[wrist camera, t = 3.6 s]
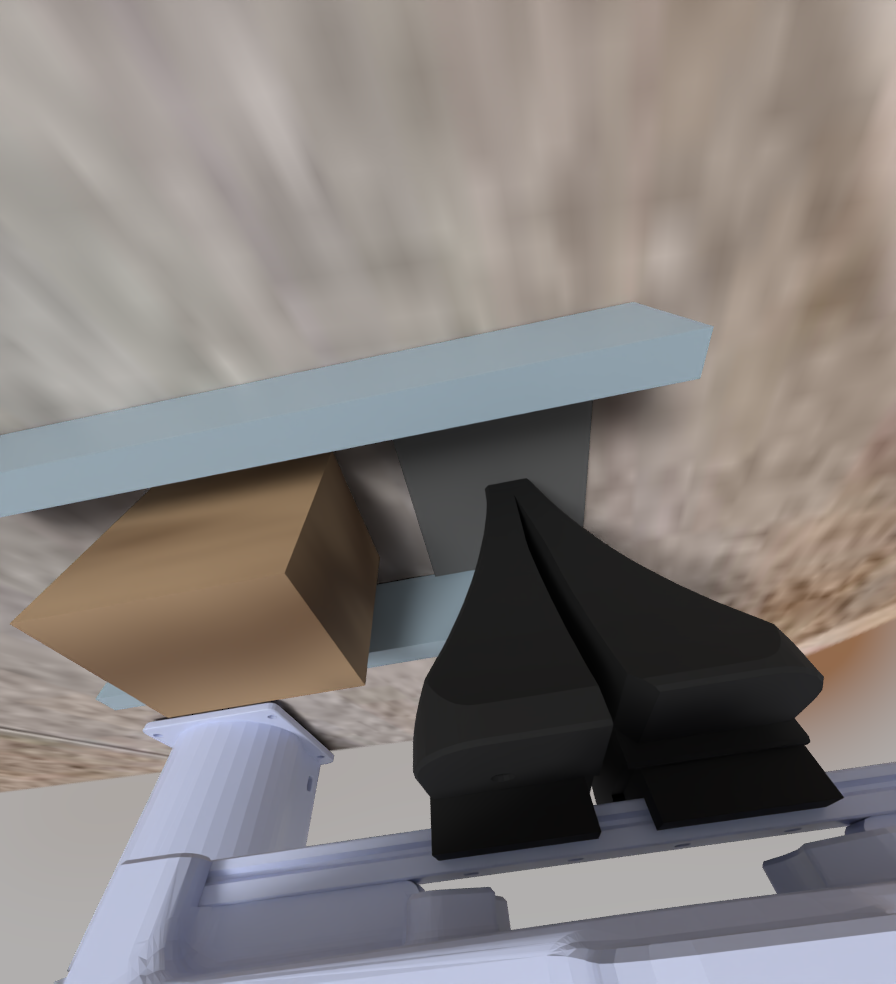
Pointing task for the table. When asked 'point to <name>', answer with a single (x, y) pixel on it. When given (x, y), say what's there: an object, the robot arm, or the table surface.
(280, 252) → the table surface
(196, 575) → the block
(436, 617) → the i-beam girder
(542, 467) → the dark grey slab
